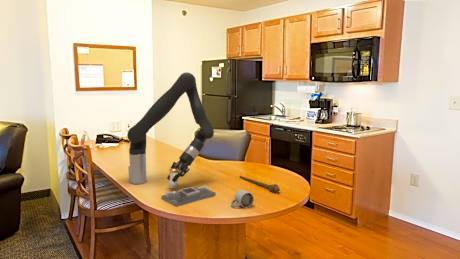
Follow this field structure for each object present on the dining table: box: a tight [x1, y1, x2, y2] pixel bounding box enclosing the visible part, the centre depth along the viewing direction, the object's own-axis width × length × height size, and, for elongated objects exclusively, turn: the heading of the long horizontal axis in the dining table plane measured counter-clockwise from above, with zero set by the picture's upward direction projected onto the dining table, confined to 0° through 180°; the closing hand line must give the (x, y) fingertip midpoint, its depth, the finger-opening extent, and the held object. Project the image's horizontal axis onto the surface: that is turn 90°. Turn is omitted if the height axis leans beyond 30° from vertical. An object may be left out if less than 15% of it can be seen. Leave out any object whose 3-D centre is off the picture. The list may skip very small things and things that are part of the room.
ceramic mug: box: [230, 189, 255, 209], centre depth 162 cm, size 10×8×7 cm
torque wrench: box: [239, 175, 280, 194], centre depth 194 cm, size 5×35×5 cm
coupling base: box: [161, 184, 216, 207], centre depth 173 cm, size 24×14×4 cm, turn 131°
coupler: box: [168, 167, 179, 189], centre depth 183 cm, size 5×5×10 cm
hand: (170, 180), depth 181 cm, fingers closed on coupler, 4 cm apart
